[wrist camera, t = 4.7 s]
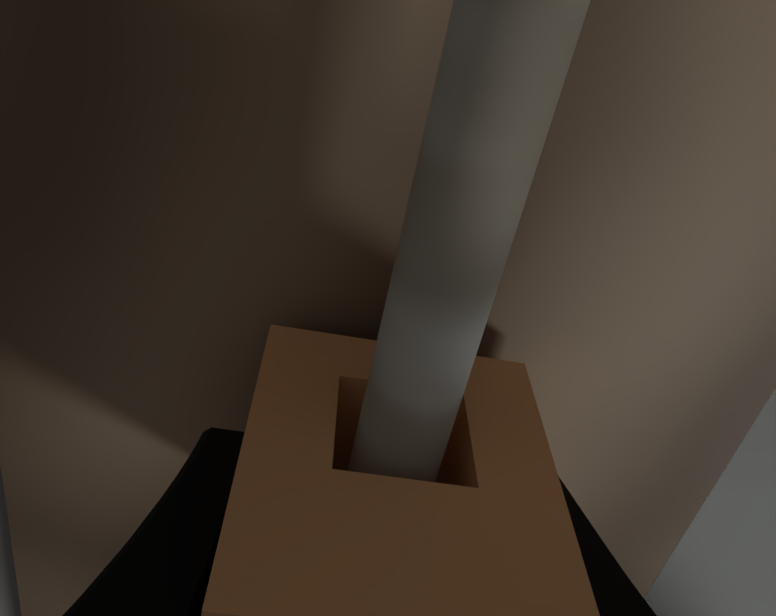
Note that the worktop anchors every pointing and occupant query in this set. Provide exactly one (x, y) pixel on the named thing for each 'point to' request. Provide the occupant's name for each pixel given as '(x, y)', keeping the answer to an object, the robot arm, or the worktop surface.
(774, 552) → the worktop surface
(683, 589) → the worktop surface
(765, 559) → the worktop surface
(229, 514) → the sleeve
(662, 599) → the worktop surface
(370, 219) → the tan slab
